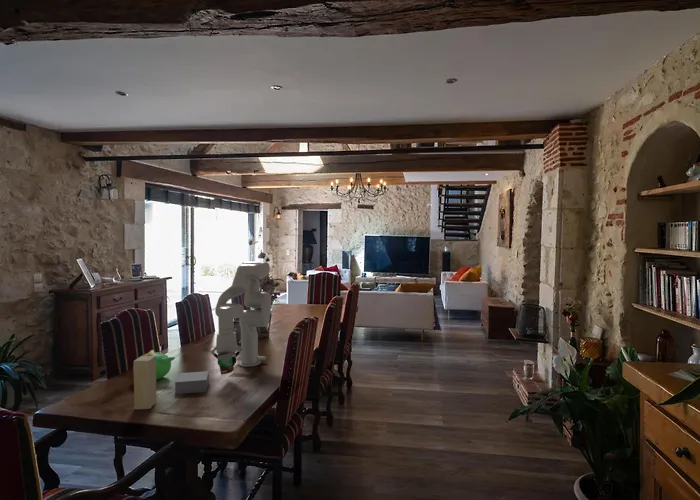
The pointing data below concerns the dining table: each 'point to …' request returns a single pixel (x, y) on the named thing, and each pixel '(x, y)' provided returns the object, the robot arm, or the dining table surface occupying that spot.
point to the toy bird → (160, 363)
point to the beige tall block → (144, 382)
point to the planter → (237, 331)
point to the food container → (226, 363)
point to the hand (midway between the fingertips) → (226, 365)
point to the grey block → (192, 382)
